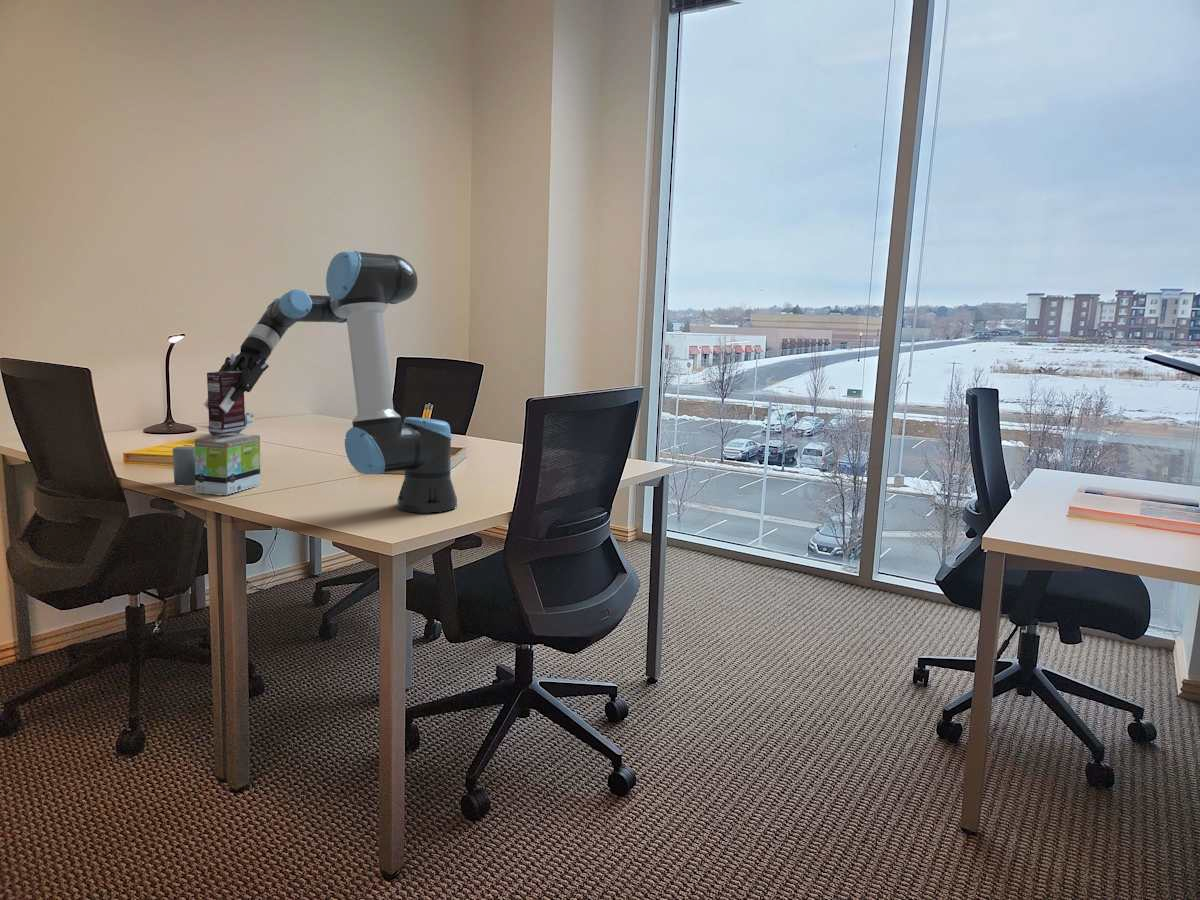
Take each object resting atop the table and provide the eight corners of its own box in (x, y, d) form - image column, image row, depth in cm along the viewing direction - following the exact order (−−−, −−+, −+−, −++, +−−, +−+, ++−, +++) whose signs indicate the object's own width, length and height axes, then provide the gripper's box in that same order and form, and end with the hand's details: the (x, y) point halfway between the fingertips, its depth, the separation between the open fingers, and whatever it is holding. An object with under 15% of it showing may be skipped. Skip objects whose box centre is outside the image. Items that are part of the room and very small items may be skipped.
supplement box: (232, 427, 230) (230, 370, 227) (246, 429, 229) (244, 371, 226) (207, 431, 222) (205, 372, 219) (221, 433, 220) (220, 373, 218)
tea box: (228, 497, 220) (226, 441, 217) (194, 493, 222) (192, 439, 219) (262, 485, 234) (260, 433, 232) (230, 483, 236) (228, 431, 234)
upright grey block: (207, 482, 235) (206, 447, 234) (187, 487, 229) (185, 451, 227) (189, 479, 238) (187, 445, 236) (168, 484, 231) (166, 448, 230)
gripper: (291, 355, 233) (249, 420, 220) (242, 352, 239) (198, 414, 227) (277, 336, 227) (233, 401, 215) (227, 333, 233) (181, 397, 221)
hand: (215, 408), depth 221 cm, fingers closed on supplement box, 5 cm apart
